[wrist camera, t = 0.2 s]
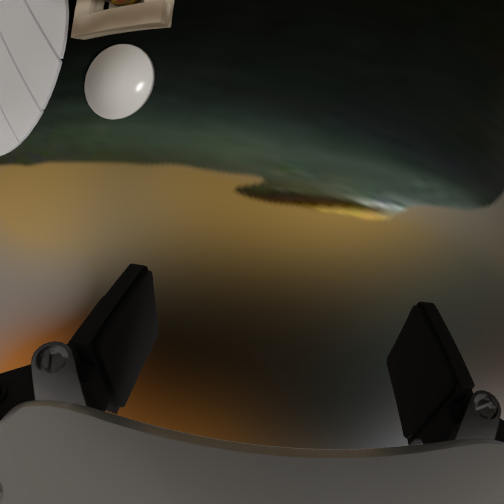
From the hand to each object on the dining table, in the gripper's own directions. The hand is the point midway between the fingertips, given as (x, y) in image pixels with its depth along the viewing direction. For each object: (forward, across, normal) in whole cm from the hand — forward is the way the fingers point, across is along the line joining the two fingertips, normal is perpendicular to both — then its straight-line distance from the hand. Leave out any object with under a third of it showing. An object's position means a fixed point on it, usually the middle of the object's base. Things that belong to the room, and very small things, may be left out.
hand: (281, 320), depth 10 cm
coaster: (+31, +24, -9) cm, 40 cm away
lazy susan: (+32, +54, -18) cm, 65 cm away
